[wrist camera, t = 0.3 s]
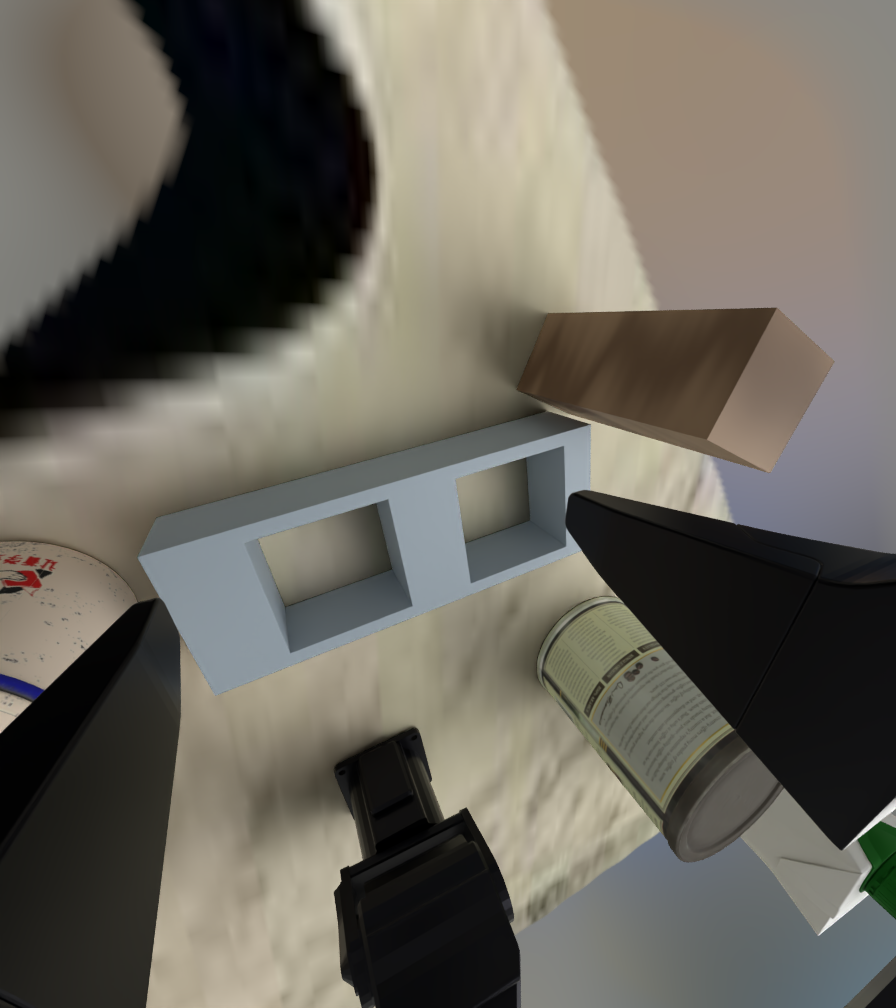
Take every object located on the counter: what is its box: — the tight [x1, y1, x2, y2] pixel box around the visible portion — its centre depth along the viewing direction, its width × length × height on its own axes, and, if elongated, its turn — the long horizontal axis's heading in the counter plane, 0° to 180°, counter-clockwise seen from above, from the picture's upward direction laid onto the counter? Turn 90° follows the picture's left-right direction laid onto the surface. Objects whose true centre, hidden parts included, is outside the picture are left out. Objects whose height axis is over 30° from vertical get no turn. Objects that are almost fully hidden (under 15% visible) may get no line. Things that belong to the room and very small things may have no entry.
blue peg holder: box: [137, 411, 591, 696], centre depth 23 cm, size 22×8×4 cm, turn 100°
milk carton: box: [740, 788, 896, 935], centre depth 38 cm, size 9×9×20 cm
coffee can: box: [537, 597, 784, 862], centre depth 31 cm, size 10×10×14 cm
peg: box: [517, 308, 834, 473], centre depth 20 cm, size 4×4×12 cm
